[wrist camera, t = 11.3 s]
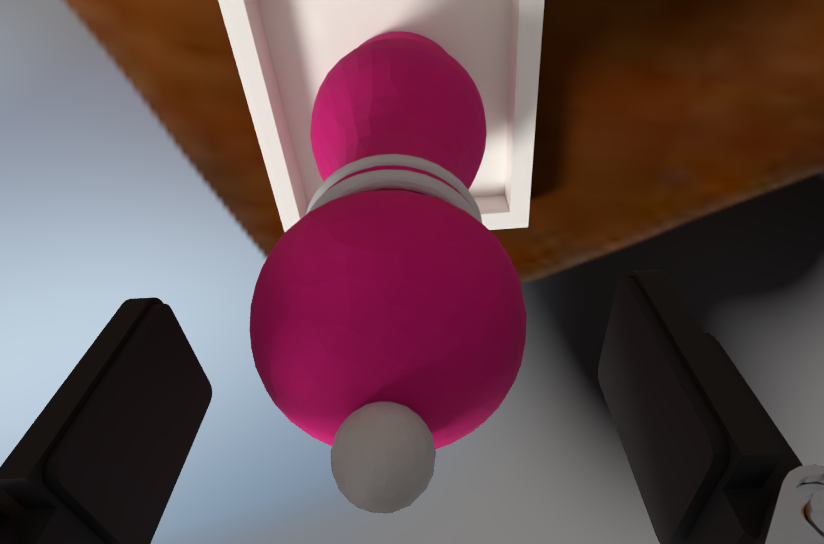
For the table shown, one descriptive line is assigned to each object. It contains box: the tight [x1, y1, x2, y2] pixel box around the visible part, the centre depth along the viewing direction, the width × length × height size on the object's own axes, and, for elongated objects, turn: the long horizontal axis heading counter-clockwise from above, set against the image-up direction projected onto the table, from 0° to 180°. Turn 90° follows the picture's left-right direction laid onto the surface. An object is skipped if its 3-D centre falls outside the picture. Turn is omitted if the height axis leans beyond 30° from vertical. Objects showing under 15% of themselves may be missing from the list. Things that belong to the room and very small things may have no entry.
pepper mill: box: [250, 31, 526, 513], centre depth 15 cm, size 7×7×20 cm
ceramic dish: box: [218, 0, 544, 232], centre depth 23 cm, size 13×13×2 cm
